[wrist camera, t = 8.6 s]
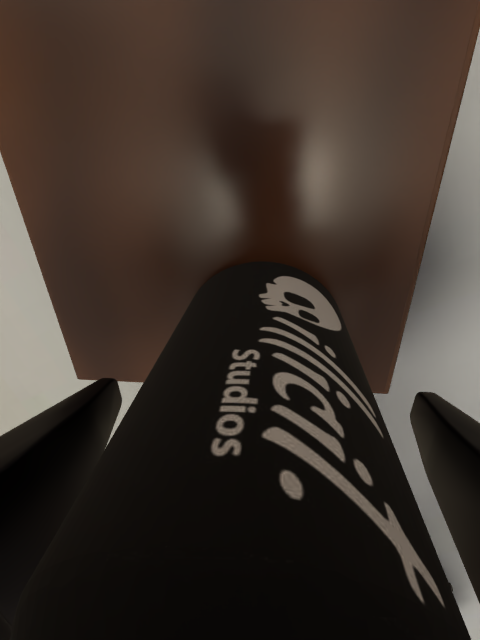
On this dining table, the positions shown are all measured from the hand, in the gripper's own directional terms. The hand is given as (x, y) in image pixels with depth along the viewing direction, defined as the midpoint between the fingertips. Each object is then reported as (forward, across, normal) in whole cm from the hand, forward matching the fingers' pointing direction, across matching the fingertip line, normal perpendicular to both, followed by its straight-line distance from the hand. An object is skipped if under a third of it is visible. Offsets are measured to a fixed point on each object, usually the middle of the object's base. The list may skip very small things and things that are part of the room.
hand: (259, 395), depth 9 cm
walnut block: (+9, +2, -4) cm, 10 cm away
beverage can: (+5, 0, 0) cm, 5 cm away
